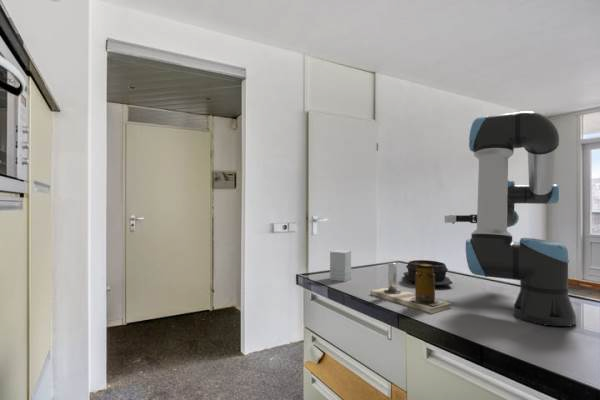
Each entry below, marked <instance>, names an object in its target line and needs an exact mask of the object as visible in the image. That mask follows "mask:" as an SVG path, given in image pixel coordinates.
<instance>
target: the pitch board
mask: <svg viewBox="0 0 600 400" xmlns="http://www.w3.org/2000/svg"><path fill="white" fill-rule="evenodd" d="M370 295H372V296H374V297H377V298H382V299H385V300H388V301H390V302H391V301H392V302H394V303H398V304H400V305H403V306H407V307H411V308H413V309H417V310H421V311H422V312H426V313H430V314H436V313H438V312H442V311H445V310H448V309H452V303H450V302H447V301H444V300H442V301H443V302H444V303H441V304H439V305H434V306H433V305H428V304H424V303H419V302H415V301H412V300H411V299H415V298H416V297H415V292H409V291H407V290H404V289H403V290H402V289H399V288H397V292H395V293H391V292H388V286H387V287H386V286H385V287H380V288H375V289H370ZM435 300H439V299H437V298H435ZM439 301H441V300H439Z"/></svg>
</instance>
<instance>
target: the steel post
mask: <svg viewBox="0 0 600 400" xmlns="http://www.w3.org/2000/svg"><path fill="white" fill-rule="evenodd" d="M387 265H388V267H387V268H388V269H387V273H388V274H387V287H388V292H391V293H395V292H397V289H398V288H397V287H398V286H397V283H398V282H397V280H398V279H397V278H398V277H397V272H398V271H397V268H398V265H397V262H388V264H387Z"/></svg>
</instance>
